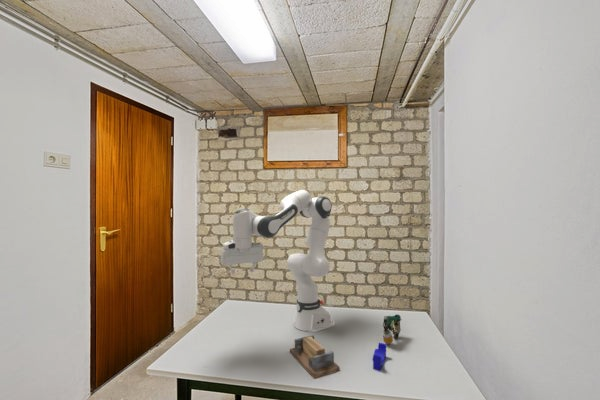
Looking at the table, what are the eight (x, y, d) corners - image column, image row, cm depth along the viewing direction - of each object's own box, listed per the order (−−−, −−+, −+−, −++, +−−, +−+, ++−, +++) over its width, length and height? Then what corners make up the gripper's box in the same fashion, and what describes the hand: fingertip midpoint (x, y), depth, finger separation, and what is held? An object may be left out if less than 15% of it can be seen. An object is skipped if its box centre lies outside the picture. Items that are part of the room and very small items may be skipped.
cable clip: (375, 355, 134) (375, 341, 134) (385, 357, 132) (386, 343, 132) (369, 368, 123) (369, 354, 123) (380, 371, 121) (380, 356, 121)
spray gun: (403, 336, 151) (404, 307, 150) (388, 350, 138) (388, 319, 137) (395, 333, 154) (395, 305, 152) (379, 347, 141) (379, 316, 140)
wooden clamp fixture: (312, 346, 141) (312, 332, 141) (339, 370, 121) (339, 354, 121) (289, 352, 135) (289, 337, 135) (313, 378, 116) (313, 361, 116)
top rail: (310, 349, 135) (310, 336, 135) (324, 363, 124) (324, 348, 124) (302, 351, 133) (302, 338, 133) (316, 365, 122) (316, 350, 122)
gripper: (261, 241, 150) (260, 268, 150) (219, 243, 141) (219, 273, 141) (265, 242, 144) (265, 271, 144) (222, 245, 135) (222, 276, 135)
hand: (242, 272), depth 143 cm, fingers open, 8 cm apart
